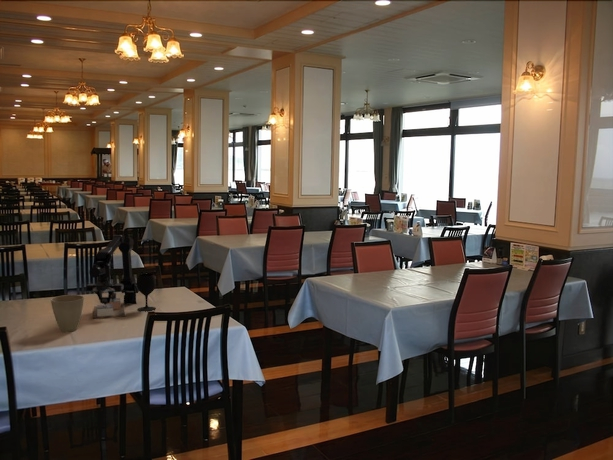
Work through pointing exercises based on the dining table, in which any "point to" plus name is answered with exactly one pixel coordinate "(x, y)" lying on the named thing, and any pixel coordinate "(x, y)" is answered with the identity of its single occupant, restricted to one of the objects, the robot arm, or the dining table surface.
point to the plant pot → (67, 311)
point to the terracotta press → (115, 303)
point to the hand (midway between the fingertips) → (105, 302)
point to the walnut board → (116, 313)
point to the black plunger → (104, 301)
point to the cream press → (105, 310)
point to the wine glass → (146, 288)
